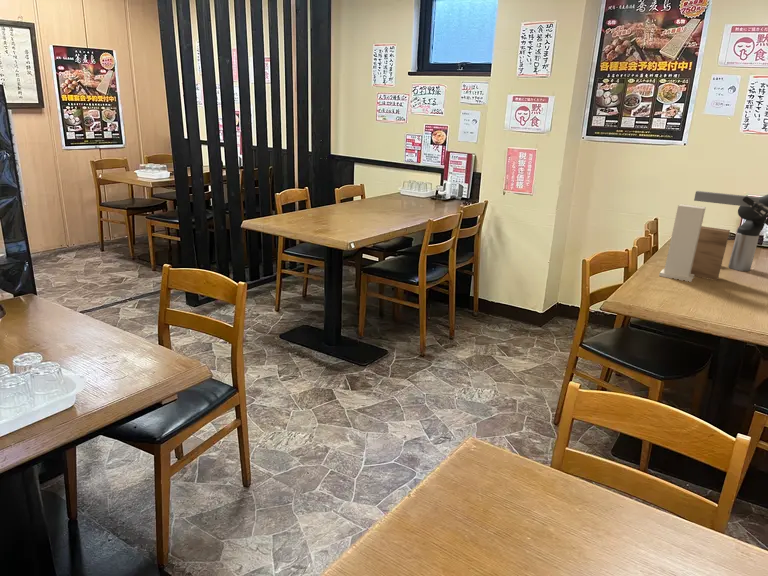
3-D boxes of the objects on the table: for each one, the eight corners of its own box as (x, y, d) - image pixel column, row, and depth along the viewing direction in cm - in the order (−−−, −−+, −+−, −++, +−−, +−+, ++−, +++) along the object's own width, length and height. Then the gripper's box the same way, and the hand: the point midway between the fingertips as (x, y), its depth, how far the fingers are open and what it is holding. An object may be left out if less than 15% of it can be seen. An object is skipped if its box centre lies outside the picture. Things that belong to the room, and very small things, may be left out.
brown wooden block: (674, 269, 266) (684, 223, 259) (718, 277, 256) (730, 230, 249) (671, 272, 261) (682, 225, 254) (717, 280, 252) (728, 232, 245)
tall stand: (662, 271, 261) (677, 203, 251) (693, 277, 254) (710, 207, 244) (659, 275, 254) (673, 205, 244) (690, 282, 247) (707, 209, 237)
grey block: (695, 199, 254) (697, 190, 252) (757, 206, 241) (759, 197, 240) (693, 200, 250) (695, 191, 249) (757, 207, 238) (759, 198, 236)
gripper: (788, 213, 239) (752, 188, 245) (788, 217, 228) (750, 191, 233) (773, 226, 243) (738, 202, 249) (773, 231, 232) (736, 206, 237)
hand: (744, 197), depth 241 cm, fingers closed on grey block, 4 cm apart
